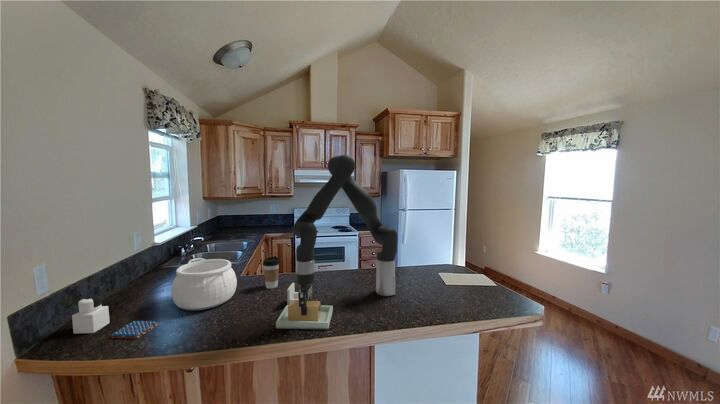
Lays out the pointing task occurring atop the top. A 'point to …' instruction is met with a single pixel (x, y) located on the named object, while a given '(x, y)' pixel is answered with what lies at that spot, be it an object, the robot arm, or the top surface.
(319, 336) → the top surface
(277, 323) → the tray
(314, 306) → the box with top handle
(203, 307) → the pot
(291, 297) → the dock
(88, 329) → the white knobbed block
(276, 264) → the coffee cup
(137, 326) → the woven mat
